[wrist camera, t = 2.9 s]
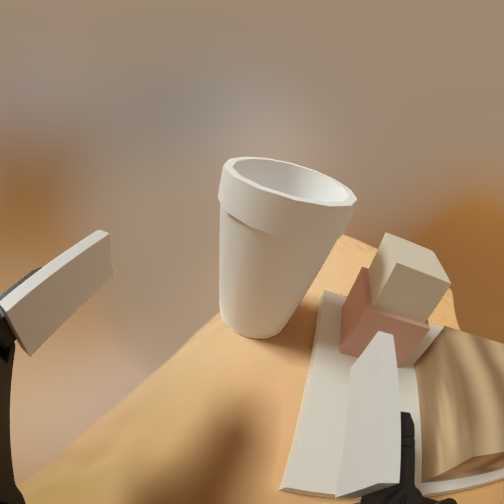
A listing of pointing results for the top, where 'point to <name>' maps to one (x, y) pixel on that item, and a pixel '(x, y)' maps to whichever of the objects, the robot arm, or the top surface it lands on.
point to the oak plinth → (461, 406)
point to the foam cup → (274, 239)
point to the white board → (335, 414)
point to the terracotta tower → (393, 298)
